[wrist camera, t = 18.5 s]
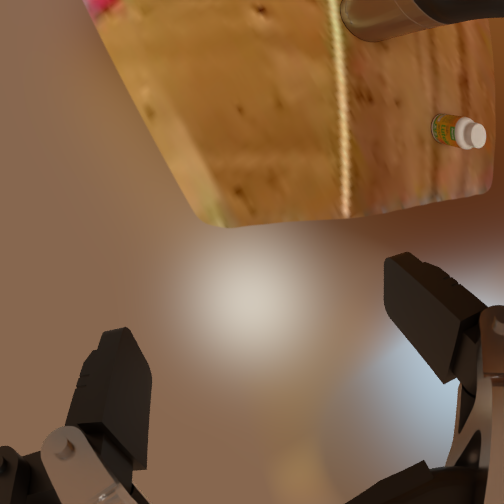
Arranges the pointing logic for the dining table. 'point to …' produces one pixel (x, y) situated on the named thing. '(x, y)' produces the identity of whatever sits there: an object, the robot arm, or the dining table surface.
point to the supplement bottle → (458, 131)
